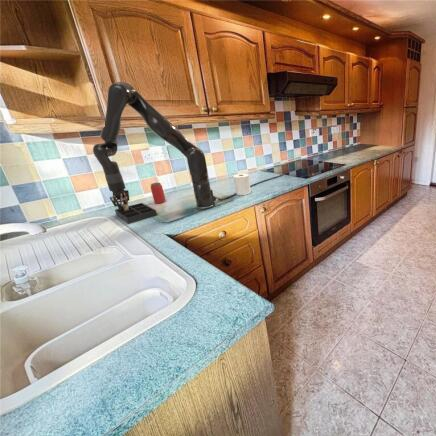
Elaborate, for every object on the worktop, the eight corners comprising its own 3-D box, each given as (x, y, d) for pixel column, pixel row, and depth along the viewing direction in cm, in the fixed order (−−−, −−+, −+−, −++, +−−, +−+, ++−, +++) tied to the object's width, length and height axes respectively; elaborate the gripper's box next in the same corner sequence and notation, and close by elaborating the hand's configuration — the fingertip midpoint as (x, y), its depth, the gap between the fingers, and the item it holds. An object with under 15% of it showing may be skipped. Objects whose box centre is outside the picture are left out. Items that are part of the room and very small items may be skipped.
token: (127, 209, 149) (126, 203, 148) (130, 210, 146) (128, 205, 145) (119, 211, 146) (117, 205, 145) (121, 213, 143) (119, 207, 142)
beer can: (160, 204, 161) (155, 185, 156) (152, 203, 162) (147, 185, 158) (168, 200, 166) (163, 182, 162) (159, 200, 168) (155, 182, 164)
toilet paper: (251, 190, 179) (249, 173, 174) (250, 194, 169) (248, 176, 164) (236, 191, 178) (234, 174, 174) (234, 195, 169) (232, 177, 164)
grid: (143, 207, 157) (141, 202, 155) (157, 215, 143) (155, 210, 142) (116, 214, 147) (114, 209, 146) (128, 223, 133) (126, 218, 132)
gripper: (114, 184, 133) (124, 215, 140) (129, 177, 146) (137, 206, 153) (99, 185, 133) (110, 215, 140) (116, 178, 146) (125, 206, 153)
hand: (124, 210), depth 146 cm, fingers closed on token, 4 cm apart
